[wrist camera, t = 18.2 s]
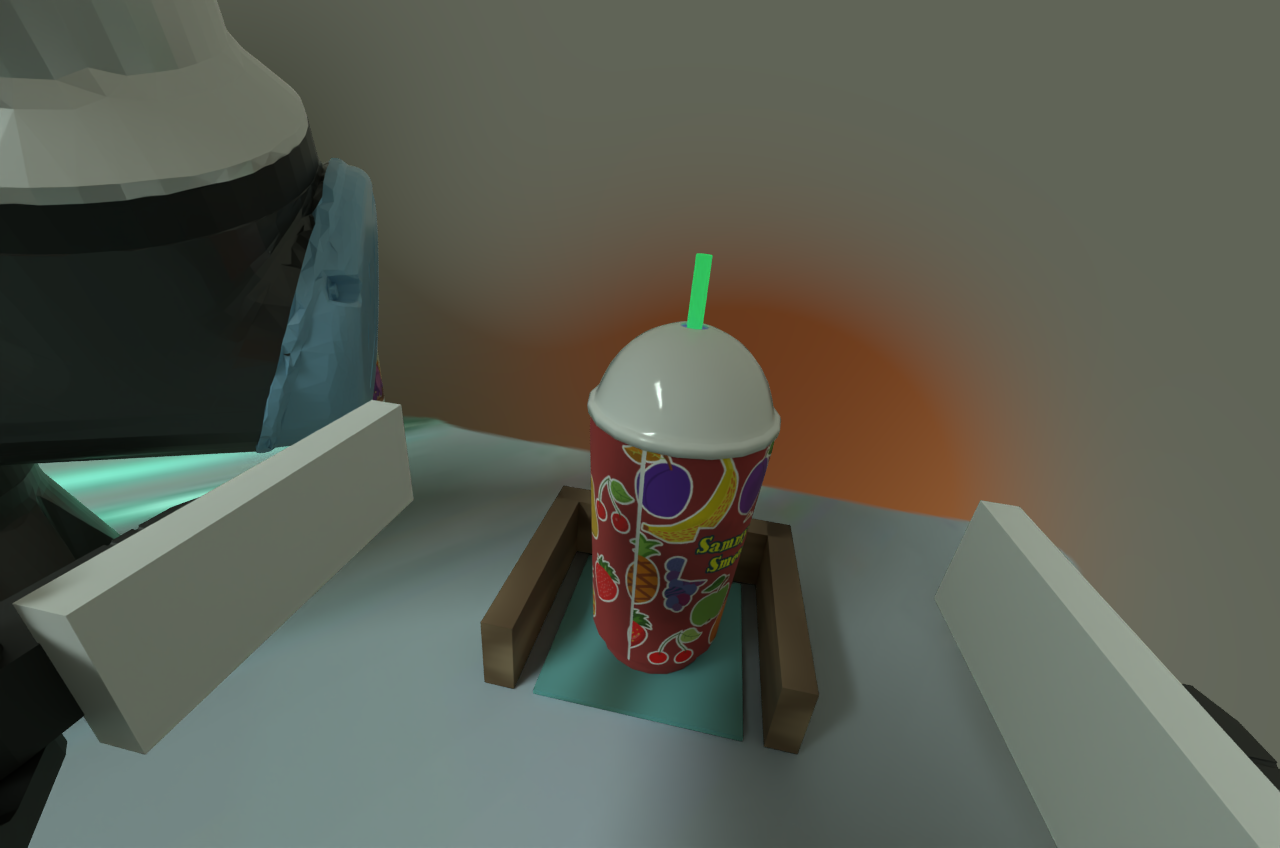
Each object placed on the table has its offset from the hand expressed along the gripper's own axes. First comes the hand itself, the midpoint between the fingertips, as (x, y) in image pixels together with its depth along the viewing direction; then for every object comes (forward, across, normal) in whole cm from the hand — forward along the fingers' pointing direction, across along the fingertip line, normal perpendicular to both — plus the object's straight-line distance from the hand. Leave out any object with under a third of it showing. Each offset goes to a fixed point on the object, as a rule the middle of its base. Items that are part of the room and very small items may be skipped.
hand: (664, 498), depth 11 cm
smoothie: (+10, 0, -16) cm, 19 cm away
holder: (+10, 0, -16) cm, 19 cm away
